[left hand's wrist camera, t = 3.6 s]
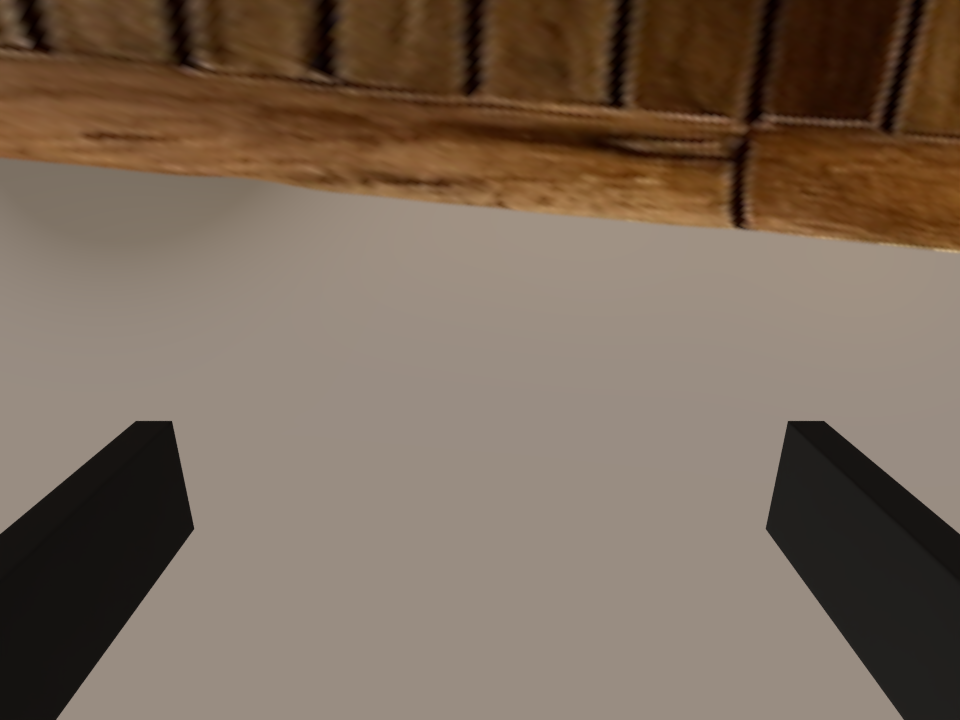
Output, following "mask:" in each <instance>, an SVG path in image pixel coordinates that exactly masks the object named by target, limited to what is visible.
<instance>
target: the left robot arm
mask: <svg viewBox="0 0 960 720" xmlns="http://www.w3.org/2000/svg"><path fill="white" fill-rule="evenodd" d="M193 530H194V525H193V521H192V516H191V511H190V506H189V501H188V496H187V492H186V487H185V482H184V477H183V472H182V468H181V463H180V458H179V453H178V448H177V443H176V438H175V434H174V429H173V424H172V421H136V422H134V423H133V424H132V425H131V426H130V427H128V428H127V429H126V430H125V431H124V432H122V433H121V434H120V435H119V436H118V437H116V438H115V439H114V440H113V441H112V442H110V443H109V444H108V445H107V446H106V447H104V448H103V449H102V450H101V451H100V452H98V453H97V454H96V455H95V456H94V457H92V458H91V459H90V460H89V461H88V462H86V463H85V464H84V465H83V466H82V467H80V468H79V469H78V470H77V471H76V472H74V473H73V474H72V475H71V476H70V477H68V478H67V479H66V480H65V481H64V482H62V483H61V484H60V485H59V486H58V487H56V488H55V489H54V490H53V491H52V492H50V493H49V494H48V495H47V496H46V497H44V498H43V499H42V500H41V501H40V502H38V503H37V504H36V505H35V506H34V507H32V508H31V509H30V510H29V511H28V512H26V513H25V514H24V515H23V516H22V517H20V518H19V519H18V520H17V521H16V522H14V523H13V524H12V525H11V526H10V527H8V528H7V529H6V530H5V531H4V532H2V533H1V534H0V720H56V719H57V718H58V716H59V715H60V713H61V712H62V711H63V709H64V708H65V707H66V705H67V704H68V702H69V701H70V700H71V698H72V697H73V696H74V694H75V693H76V691H77V690H78V689H79V687H80V686H81V684H82V683H83V682H84V680H85V679H86V678H87V676H88V675H89V673H90V672H91V671H92V669H93V668H94V666H95V665H96V664H97V662H98V661H99V660H100V658H101V657H102V655H103V654H104V653H105V651H106V650H107V649H108V647H109V646H110V644H111V643H112V642H113V640H114V639H115V638H116V636H117V635H118V633H119V632H120V631H121V629H122V628H123V626H124V625H125V624H126V622H127V621H128V620H129V618H130V617H131V615H132V614H133V613H134V611H135V610H136V609H137V607H138V606H139V604H140V603H141V601H142V600H143V599H144V597H145V596H146V595H147V593H148V592H149V591H150V589H151V588H152V586H153V585H154V584H155V582H156V581H157V580H158V578H159V577H160V575H161V574H162V573H163V571H164V570H165V568H166V567H167V566H168V564H169V563H170V562H171V560H172V559H173V557H174V556H175V555H176V553H177V552H178V551H179V549H180V548H181V546H182V545H183V544H184V542H185V541H186V540H187V538H188V537H189V535H190V534H191V533H192V531H193ZM766 530H767V531H768V533H769V534H770V535H771V537H772V538H773V539H774V541H775V542H776V544H777V545H778V546H779V548H780V549H781V551H782V552H783V553H784V555H785V556H786V557H787V559H788V560H789V562H790V563H791V564H792V566H793V567H794V568H795V570H796V571H797V573H798V574H799V575H800V577H801V578H802V580H803V581H804V582H805V584H806V585H807V586H808V588H809V589H810V591H811V592H812V593H813V595H814V596H815V597H816V599H817V600H818V602H819V603H820V604H821V606H822V607H823V608H824V610H825V611H826V613H827V614H828V615H829V617H830V618H831V619H832V621H833V622H834V624H835V625H836V626H837V628H838V629H839V631H840V632H841V633H842V635H843V636H844V638H845V639H846V640H847V642H848V643H849V644H850V646H851V647H852V649H853V650H854V651H855V653H856V654H857V655H858V657H859V658H860V660H861V661H862V662H863V664H864V665H865V667H866V668H867V669H868V671H869V672H870V673H871V675H872V676H873V678H874V679H875V680H876V682H877V683H878V684H879V686H880V687H881V689H882V690H883V691H884V693H885V694H886V696H887V697H888V698H889V700H890V701H891V702H892V704H893V705H894V706H895V708H896V709H897V711H898V712H899V713H900V715H901V716H902V718H903V719H904V720H960V534H959V533H958V532H956V531H955V530H954V529H953V528H952V527H950V526H949V525H948V524H947V523H945V522H944V521H943V520H942V519H941V518H940V517H938V516H937V515H936V514H935V513H934V512H932V511H931V510H930V509H929V508H928V507H926V506H925V505H924V504H923V503H922V502H920V501H919V500H918V499H917V498H916V497H914V496H913V495H912V494H911V493H910V492H908V491H907V490H906V489H905V488H904V487H902V486H901V485H900V484H899V483H898V482H896V481H895V480H894V479H893V478H892V477H890V476H889V475H888V474H887V473H886V472H884V471H883V470H882V469H881V468H880V467H878V466H877V465H876V464H875V463H874V462H872V461H871V460H870V459H869V458H868V457H866V456H865V455H864V454H863V453H862V452H860V451H859V450H858V449H857V448H856V447H854V446H853V445H852V444H851V443H850V442H848V441H847V440H846V439H845V438H844V437H842V436H841V435H840V434H839V433H838V432H837V431H835V430H834V429H833V428H832V427H830V426H829V425H828V424H827V423H826V422H825V421H788V424H787V429H786V434H785V438H784V443H783V448H782V453H781V458H780V463H779V467H778V472H777V477H776V482H775V487H774V492H773V496H772V501H771V506H770V511H769V516H768V521H767V525H766Z"/></svg>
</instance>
